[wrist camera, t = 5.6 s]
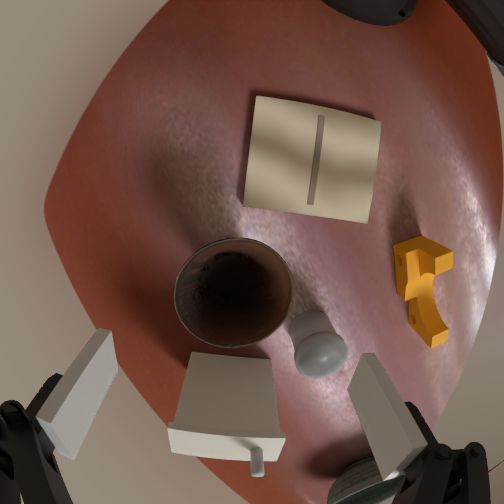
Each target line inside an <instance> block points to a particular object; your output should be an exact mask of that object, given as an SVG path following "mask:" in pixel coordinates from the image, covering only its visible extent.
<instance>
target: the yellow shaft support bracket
mask: <svg viewBox="0 0 504 504" xmlns="http://www.w3.org/2000/svg"><path fill="white" fill-rule="evenodd" d="M393 249H394V259H395V270H396V284H397V293H398V294H399V295H400V296H401V297H402V298H403V299H404V300H405V301H407V300H409V324H410V325H411V326H412V328H413V329H414V330H415V331H416V332H417V333H418V334H419V335H420V337H421V338H422V339H423V340H424V341H425V342H426V344H427V345H428V346H429V347H430V348H431V349H432V348H434V347H436V346H438V345H440V344H442V343H444V342H446V341H447V338H448V330H449V328H448V327H447V326H446V325H445V324H444V322H443V321H442V319H441V317H440V315H439V313H438V310H437V307H436V304H435V299H434V293H433V281H434V276H436V275H438V274H440V273H443V272H445V271H447V270H450V269H452V268H453V251H452V250H450V249H448V248H446V247H444V246H442V245H440V244H438V243H436V242H434V241H432V240H430V239H428V238H426V237H424V236H419V237H416V238H413V239H410V240H407V241H404V242H401V243H398V244H394V245H393Z"/></svg>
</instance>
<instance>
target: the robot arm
mask: <svg viewBox="0 0 504 504" xmlns="http://www.w3.org/2000/svg"><path fill="white" fill-rule="evenodd" d="M321 1H323V2H324V3H325V4H327V5H328V6H330V7H331V8H333V9H335V10H336V11H338V12H340V13H342V14H344V15H346V16H348V17H351V18H353V19H356V20H358V21H361V22H365V23H369V24H373V25H381V26H389V25H395V24H399V23H401V22H403V21H404V20H405V19H407V18H408V17H409V16H410V15H411V14H412V13H413V11H414V9H415V6H416V4H417V1H418V0H321ZM445 1H446V2H447V3H448V4H449V5H450V6H451V8H452V9H453V10H454V11H455V12H456V13H457V14H458V15H459V17H460V18H461V19H462V20H463V21H464V22H465V24H466V25H467V26H468V27H469V29H470V30H471V31H472V32H473V34H474V35H475V36H476V38H477V39H478V40H479V42H480V43H481V44H482V46H483V47H484V49H485V50H486V51H487V55H488V57H489V58H490V60H491V61H492V62H493V63H494V64H495V65H496V66H497V67H498V69H499V70H500V72H501V73H502V75H503V76H504V0H445ZM117 372H118V365H117V360H116V355H115V350H114V344H113V338H112V332H111V331H110V330H105V329H101V328H98V330H97V331H96V332H95V334H94V335H93V336H92V338H91V339H90V340H89V341H88V343H87V344H86V345H85V347H84V348H83V349H82V351H81V352H80V353H79V355H78V356H77V357H76V359H75V360H74V361H73V363H72V364H71V365H70V367H69V368H68V370H67V371H66V372H65V374H64V375H60V374H58V373H56V374H54V375H52V376H51V377H49V378H48V380H47V381H46V382H45V383H44V385H43V387H41V389H40V390H39V393H37V394H36V396H35V397H34V399H33V400H32V401H31V403H30V404H29V406H28V407H27V409H26V410H24V407H23V406H22V405H21V404H20V403H19V402H18V401H15V400H9V401H5V402H4V403H3V404H1V406H0V504H21V498H20V492H21V495H22V499H23V502H24V504H73V502H72V500H71V498H70V495H69V493H68V491H67V488H66V486H65V483H64V481H63V478H62V476H61V473H60V471H59V468H58V465H57V462H56V459H55V456H54V454H53V451H54V449H55V448H56V449H57V451H58V452H59V454H60V455H63V456H65V457H67V458H70V459H72V460H75V458H76V455H77V453H78V451H79V449H80V447H81V444H82V442H83V440H84V438H85V436H86V434H87V432H88V429H89V427H90V425H91V423H92V421H93V419H94V417H95V415H96V413H97V411H98V409H99V407H100V405H101V403H102V401H103V399H104V397H105V395H106V393H107V391H108V389H109V387H110V385H111V383H112V382H113V380H114V378H115V376H116V374H117ZM347 390H348V393H349V395H350V398H351V400H352V403H353V405H354V407H355V410H356V412H357V415H358V417H359V420H360V422H361V425H362V427H363V430H364V432H365V435H366V437H367V440H368V442H369V445H370V447H371V450H372V453H373V455H374V458H375V460H376V463H377V466H378V468H379V471H380V474H381V476H382V479H383V481H385V480H389V479H392V478H396V477H398V476H399V475H400V474H401V473H402V472H403V471H404V473H405V476H404V477H403V478H402V479H401V480H400V481H399V482H398V483H397V484H396V485H395V487H397V486H399V485H400V486H399V489H398V491H397V493H396V495H395V498H394V500H393V502H392V504H491V501H490V485H489V475H488V466H487V458H486V452H485V449H484V447H483V446H482V445H481V444H480V443H477V442H471V443H469V444H468V445H467V446H466V447H465V448H464V449H459V450H452V449H451V448H450V447H449V446H447V445H445V444H439V443H438V442H437V440H436V439H435V437H434V435H433V433H432V432H431V430H430V428H429V427H428V425H427V423H426V422H425V420H424V418H423V416H421V413H420V411H419V410H418V408H417V407H416V406H415V405H414V404H412V403H411V402H404V401H403V399H402V398H401V396H400V394H399V393H398V391H397V389H396V388H395V386H394V384H393V383H392V381H391V379H390V378H389V376H388V374H387V373H386V371H385V369H384V368H383V366H382V365H381V363H380V361H379V360H378V358H377V357H376V355H375V353H362V355H361V358H360V361H359V363H358V366H357V368H356V370H355V373H354V375H353V378H352V380H351V382H350V385H349V387H348V389H347Z"/></svg>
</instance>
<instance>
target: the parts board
mask: <svg viewBox="0 0 504 504" xmlns="http://www.w3.org/2000/svg"><path fill="white" fill-rule="evenodd" d="M380 131H381V122H380V121H377V120H373V119H370V118H366V117H363V116H359V115H355V114H351V113H348V112H344V111H339V110H335V109H331V108H326V107H322V106H317V105H312V104H307V103H301V102H296V101H290V100H283V99H277V98H270V97H262V96H256V102H255V110H254V118H253V126H252V134H251V142H250V150H249V158H248V166H247V175H246V183H245V192H244V200H243V207H250V208H259V209H268V210H276V211H284V212H292V213H299V214H307V215H314V216H321V217H328V218H335V219H341V220H348V221H354V222H361V223H367V222H368V216H369V211H370V205H371V200H372V194H373V187H374V181H375V174H376V166H377V159H378V150H379V141H380Z"/></svg>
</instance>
